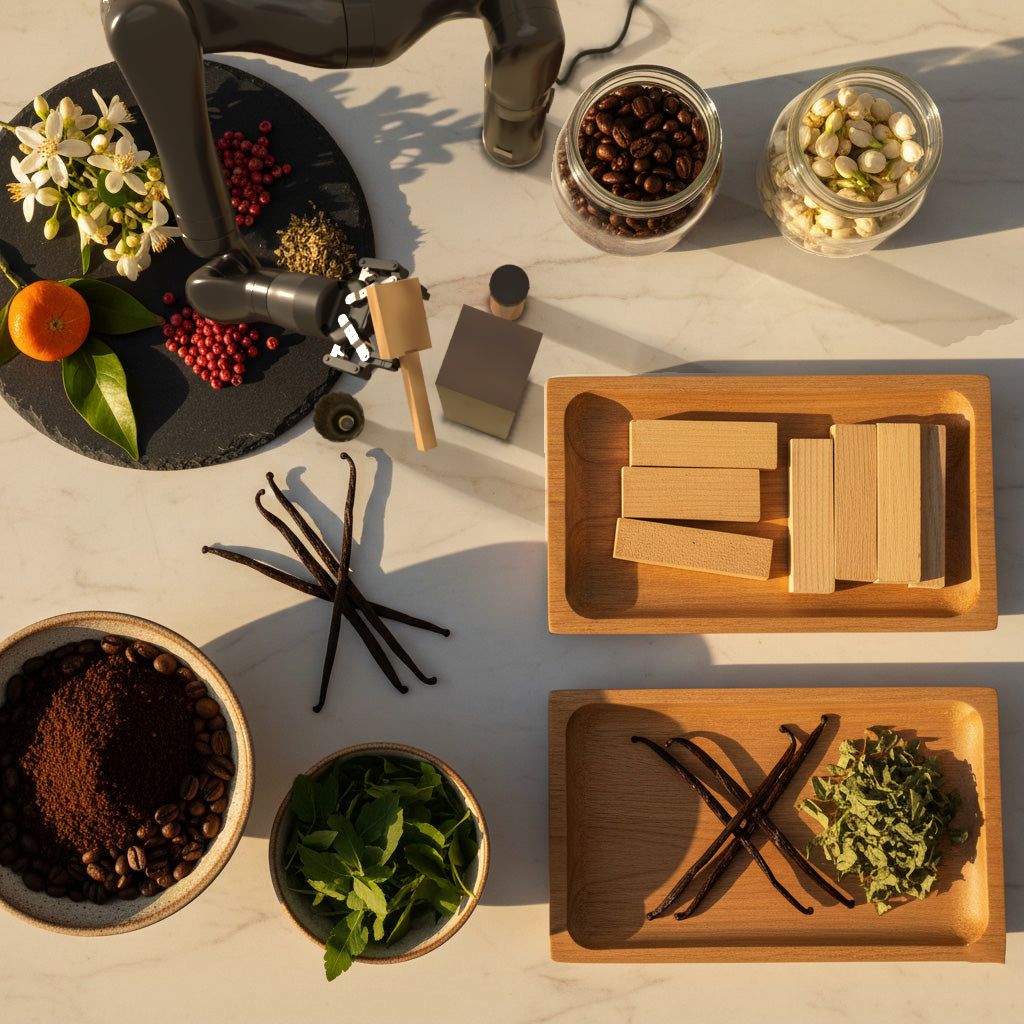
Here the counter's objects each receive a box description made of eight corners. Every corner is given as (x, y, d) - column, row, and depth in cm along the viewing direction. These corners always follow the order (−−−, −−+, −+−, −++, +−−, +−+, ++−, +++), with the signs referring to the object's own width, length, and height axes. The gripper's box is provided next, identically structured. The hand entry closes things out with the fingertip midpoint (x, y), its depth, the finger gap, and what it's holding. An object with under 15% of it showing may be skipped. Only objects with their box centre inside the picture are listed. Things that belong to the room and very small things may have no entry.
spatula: (450, 441, 97) (440, 440, 98) (418, 277, 90) (408, 278, 92) (411, 457, 93) (401, 455, 95) (374, 286, 87) (364, 287, 88)
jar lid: (497, 262, 116) (497, 258, 114) (534, 276, 116) (535, 272, 114) (483, 299, 116) (483, 295, 114) (521, 312, 116) (521, 309, 114)
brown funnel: (365, 452, 124) (357, 447, 116) (318, 442, 124) (307, 436, 116) (375, 405, 124) (368, 396, 116) (328, 395, 124) (318, 386, 116)
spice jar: (496, 283, 125) (498, 262, 115) (528, 295, 125) (532, 274, 115) (485, 314, 125) (486, 295, 115) (516, 326, 125) (520, 308, 115)
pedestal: (467, 358, 125) (463, 303, 94) (527, 380, 125) (543, 333, 94) (445, 418, 124) (434, 383, 94) (505, 440, 125) (515, 412, 94)
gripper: (272, 347, 97) (373, 375, 89) (313, 238, 97) (417, 256, 89) (313, 368, 103) (410, 396, 96) (350, 266, 104) (450, 285, 96)
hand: (413, 328), depth 93 cm, fingers closed on spatula, 8 cm apart
